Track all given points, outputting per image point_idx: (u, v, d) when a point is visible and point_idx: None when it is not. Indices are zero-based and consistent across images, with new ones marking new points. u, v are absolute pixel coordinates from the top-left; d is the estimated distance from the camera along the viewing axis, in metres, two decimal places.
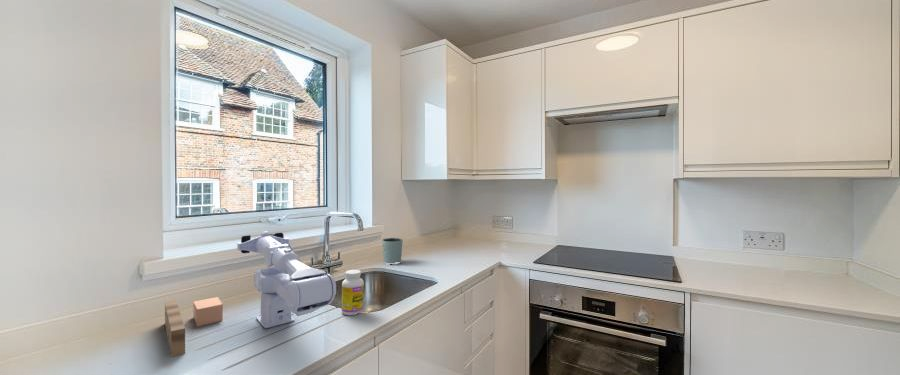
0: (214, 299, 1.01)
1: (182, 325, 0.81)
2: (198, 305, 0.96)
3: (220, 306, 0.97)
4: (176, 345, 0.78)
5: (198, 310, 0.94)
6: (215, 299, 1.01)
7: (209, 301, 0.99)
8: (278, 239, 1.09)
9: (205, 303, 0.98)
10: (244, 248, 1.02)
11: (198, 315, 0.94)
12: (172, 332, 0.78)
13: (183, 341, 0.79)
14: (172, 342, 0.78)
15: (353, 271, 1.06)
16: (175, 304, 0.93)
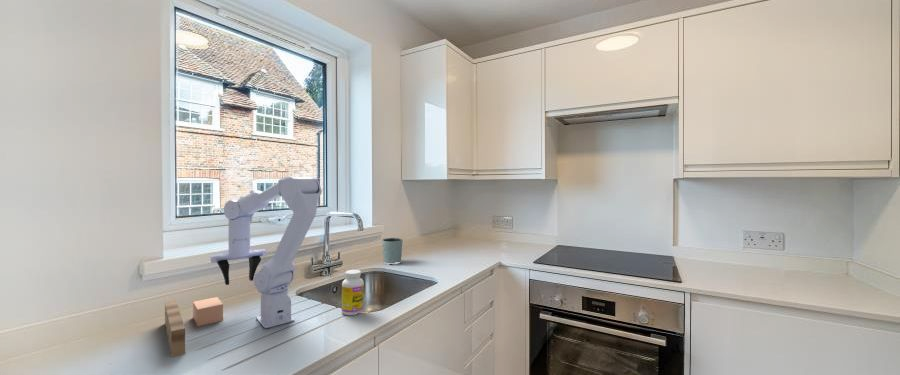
0: (214, 299, 1.01)
1: (182, 325, 0.81)
2: (199, 305, 0.96)
3: (221, 306, 0.98)
4: (176, 345, 0.78)
5: (198, 310, 0.94)
6: (215, 299, 1.01)
7: (209, 301, 0.99)
8: (253, 251, 1.07)
9: (205, 303, 0.98)
10: None
11: (198, 315, 0.94)
12: (172, 332, 0.78)
13: (183, 341, 0.79)
14: (172, 342, 0.78)
15: (353, 271, 1.06)
16: (175, 304, 0.93)
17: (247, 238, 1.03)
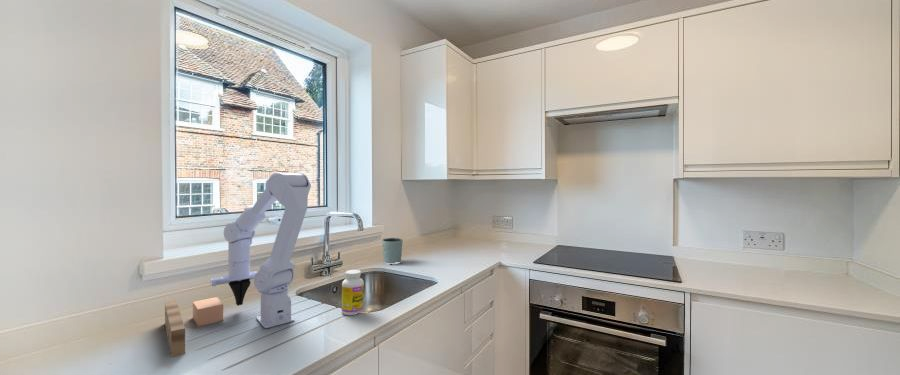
0: (214, 299, 1.01)
1: (182, 325, 0.81)
2: (199, 305, 0.96)
3: (221, 306, 0.98)
4: (176, 345, 0.78)
5: (199, 310, 0.94)
6: (215, 299, 1.01)
7: (209, 301, 0.99)
8: None
9: (205, 303, 0.98)
10: None
11: (199, 315, 0.94)
12: (172, 332, 0.78)
13: (183, 341, 0.79)
14: (172, 342, 0.78)
15: (353, 271, 1.06)
16: (175, 304, 0.93)
17: (247, 260, 1.03)
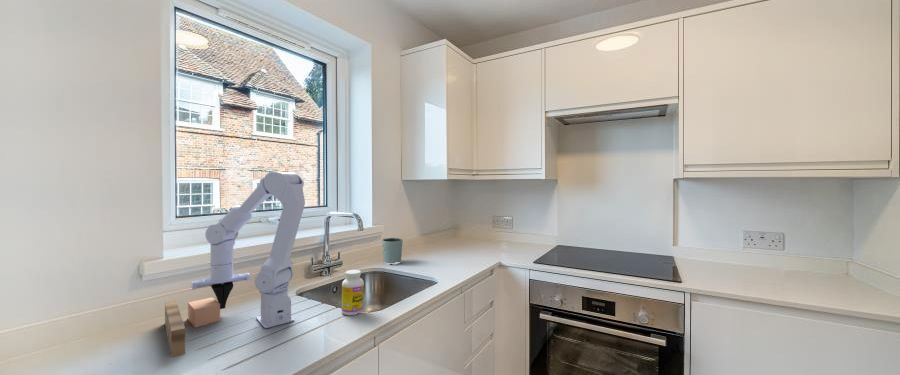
0: (209, 299, 1.01)
1: (182, 325, 0.81)
2: (195, 305, 0.96)
3: (218, 306, 0.97)
4: (176, 345, 0.78)
5: (196, 310, 0.93)
6: (210, 299, 1.01)
7: (204, 302, 0.98)
8: None
9: (201, 304, 0.97)
10: None
11: (196, 315, 0.93)
12: (172, 332, 0.78)
13: (183, 341, 0.79)
14: (172, 342, 0.78)
15: (353, 271, 1.06)
16: (175, 304, 0.93)
17: (230, 263, 1.00)
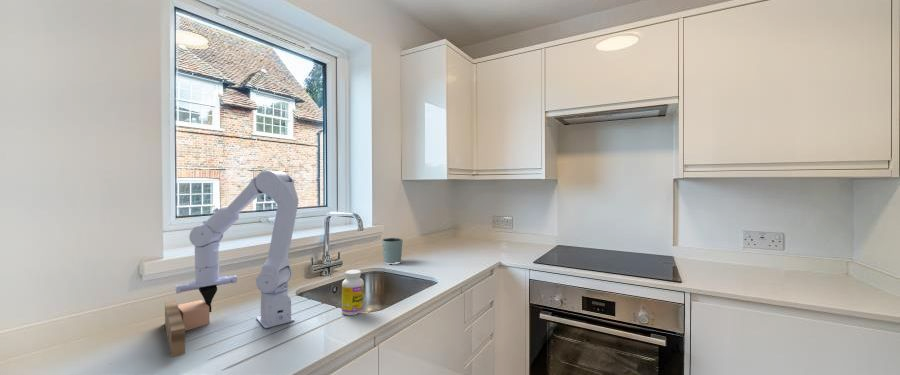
0: (199, 302, 0.98)
1: (182, 325, 0.81)
2: (183, 308, 0.93)
3: (207, 309, 0.95)
4: (176, 345, 0.78)
5: (184, 313, 0.91)
6: (200, 302, 0.98)
7: (194, 304, 0.96)
8: None
9: (190, 306, 0.95)
10: None
11: (184, 319, 0.91)
12: (172, 332, 0.78)
13: (183, 341, 0.79)
14: (172, 342, 0.78)
15: (353, 271, 1.06)
16: (175, 304, 0.93)
17: (215, 265, 0.98)
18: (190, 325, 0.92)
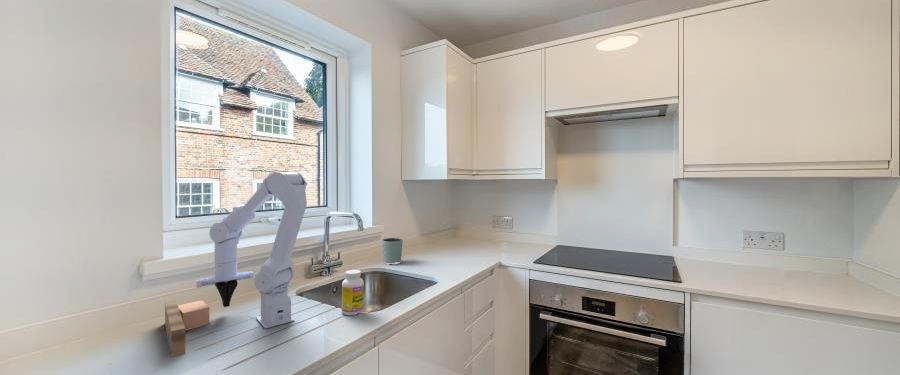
0: (199, 302, 0.98)
1: (182, 325, 0.81)
2: (183, 309, 0.93)
3: (207, 309, 0.95)
4: (176, 345, 0.78)
5: (184, 314, 0.91)
6: (200, 302, 0.99)
7: (194, 305, 0.96)
8: None
9: (190, 307, 0.95)
10: None
11: (184, 319, 0.91)
12: (172, 332, 0.78)
13: (183, 341, 0.79)
14: (172, 342, 0.78)
15: (353, 271, 1.06)
16: (175, 304, 0.93)
17: (234, 261, 1.01)
18: (190, 325, 0.92)
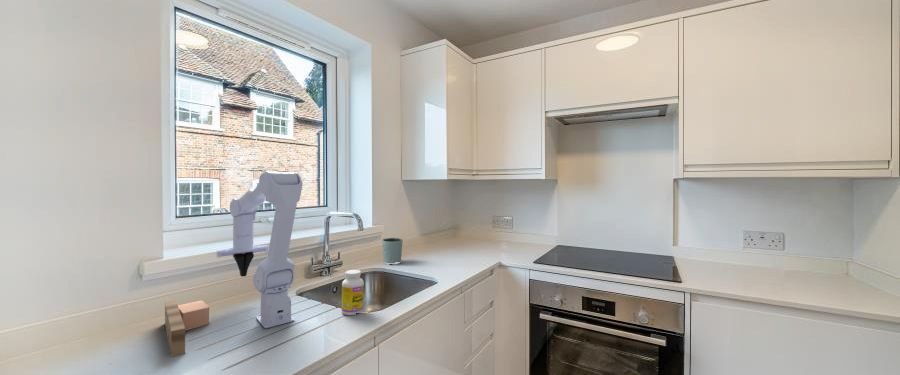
0: (199, 302, 0.98)
1: (182, 325, 0.81)
2: (183, 309, 0.93)
3: (207, 309, 0.95)
4: (176, 345, 0.78)
5: (184, 314, 0.91)
6: (200, 302, 0.99)
7: (194, 305, 0.96)
8: (256, 247, 1.14)
9: (190, 307, 0.95)
10: None
11: (184, 319, 0.91)
12: (172, 332, 0.78)
13: (183, 341, 0.79)
14: (172, 342, 0.78)
15: (353, 271, 1.06)
16: (175, 304, 0.93)
17: (250, 234, 1.10)
18: (190, 325, 0.92)
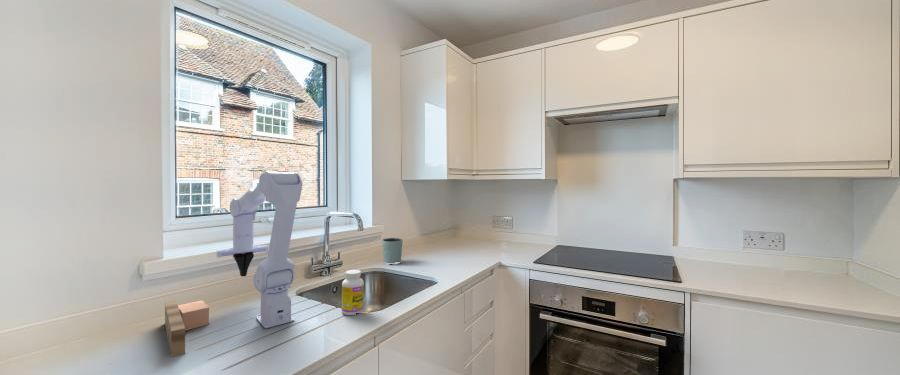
0: (199, 302, 0.98)
1: (182, 325, 0.81)
2: (183, 309, 0.94)
3: (207, 309, 0.95)
4: (176, 345, 0.78)
5: (183, 314, 0.91)
6: (200, 302, 0.99)
7: (194, 305, 0.96)
8: (256, 247, 1.14)
9: (190, 307, 0.95)
10: None
11: (183, 319, 0.91)
12: (172, 332, 0.78)
13: (183, 341, 0.79)
14: (172, 342, 0.78)
15: (353, 271, 1.06)
16: (175, 304, 0.93)
17: (250, 234, 1.10)
18: (189, 325, 0.92)
